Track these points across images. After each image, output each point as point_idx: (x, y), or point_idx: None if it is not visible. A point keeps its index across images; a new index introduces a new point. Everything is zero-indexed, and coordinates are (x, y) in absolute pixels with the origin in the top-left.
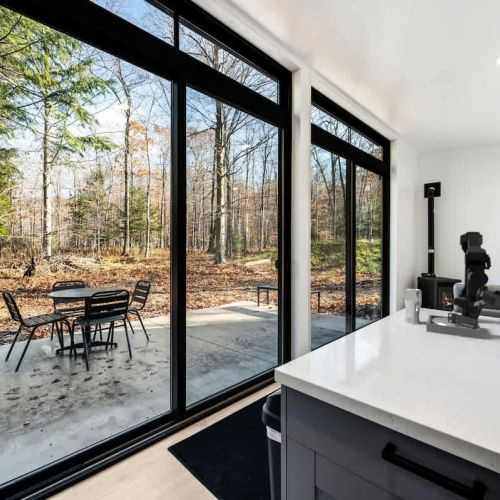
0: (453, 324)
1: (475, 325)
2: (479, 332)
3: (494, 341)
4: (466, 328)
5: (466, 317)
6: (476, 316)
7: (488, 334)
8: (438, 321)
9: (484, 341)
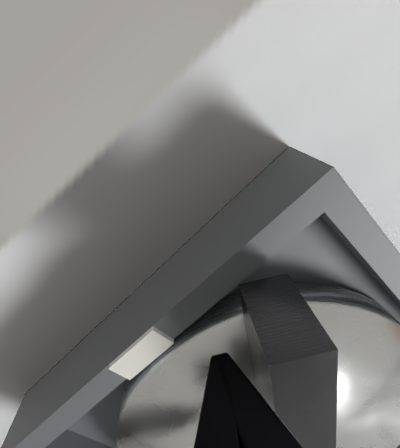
0: (359, 373)
1: (291, 281)
2: (324, 167)
3: (228, 43)
4: (394, 258)
5: (331, 428)
6: (272, 417)
7: (80, 250)
8: (375, 439)
9: (326, 70)
